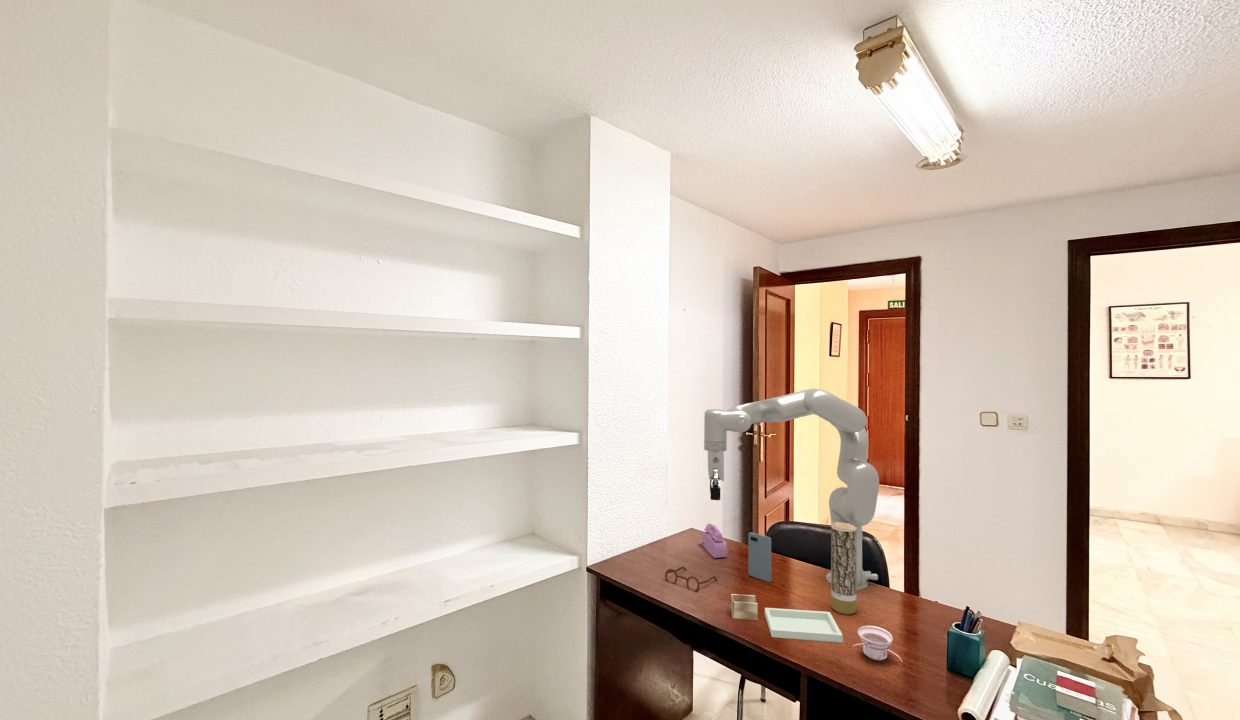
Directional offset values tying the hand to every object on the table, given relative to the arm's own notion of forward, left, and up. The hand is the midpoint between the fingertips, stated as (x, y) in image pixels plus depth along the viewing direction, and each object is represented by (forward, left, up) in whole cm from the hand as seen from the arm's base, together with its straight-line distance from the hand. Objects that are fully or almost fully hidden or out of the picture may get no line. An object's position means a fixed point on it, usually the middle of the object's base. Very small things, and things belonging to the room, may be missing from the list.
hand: (714, 495), depth 168 cm
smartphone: (-15, -2, -28) cm, 32 cm away
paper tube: (-37, +16, -28) cm, 49 cm away
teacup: (-37, +40, -29) cm, 62 cm away
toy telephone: (0, -26, -29) cm, 38 cm away
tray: (-22, +29, -28) cm, 46 cm away
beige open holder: (-7, +24, -28) cm, 38 cm away
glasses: (+8, +3, -29) cm, 30 cm away
